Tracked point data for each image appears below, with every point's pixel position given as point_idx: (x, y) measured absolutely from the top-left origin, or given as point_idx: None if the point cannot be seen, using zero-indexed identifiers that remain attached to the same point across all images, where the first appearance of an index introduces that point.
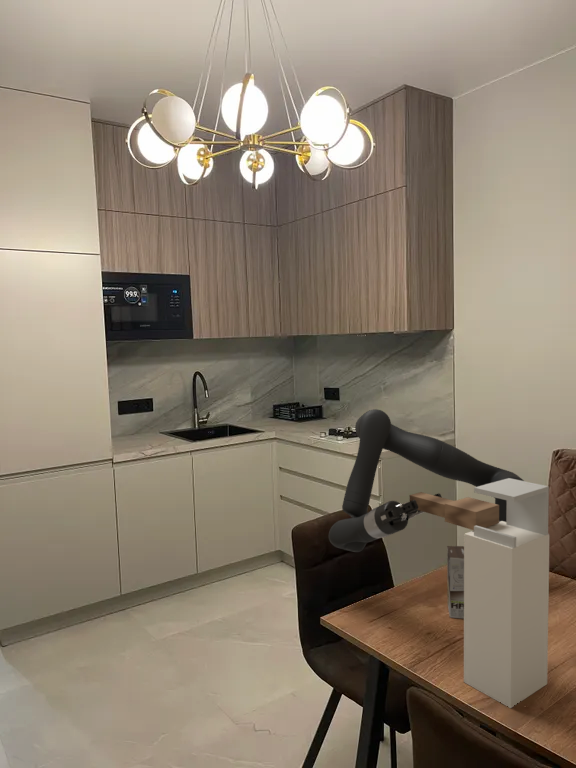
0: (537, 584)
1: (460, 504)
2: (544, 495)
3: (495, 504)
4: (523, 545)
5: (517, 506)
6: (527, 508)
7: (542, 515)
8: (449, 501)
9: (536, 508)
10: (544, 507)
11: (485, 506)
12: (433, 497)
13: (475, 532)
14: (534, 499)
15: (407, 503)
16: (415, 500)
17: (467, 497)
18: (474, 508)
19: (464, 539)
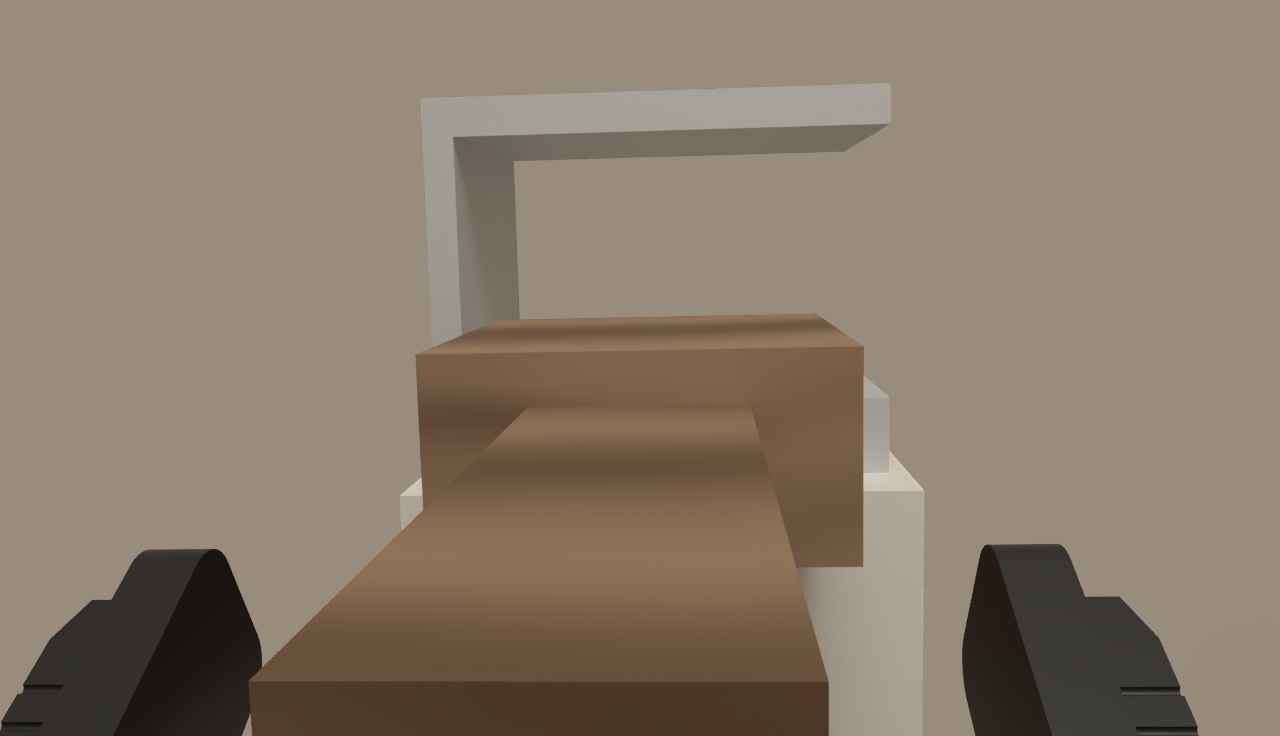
0: None
1: (744, 334)
2: (512, 185)
3: (506, 322)
4: None
5: (481, 303)
6: (494, 295)
7: (516, 309)
8: (577, 432)
9: (507, 277)
10: (514, 258)
11: (620, 321)
12: (547, 503)
13: (886, 441)
14: (503, 222)
15: (1123, 724)
16: (988, 546)
17: (441, 352)
18: (742, 321)
19: (923, 537)
